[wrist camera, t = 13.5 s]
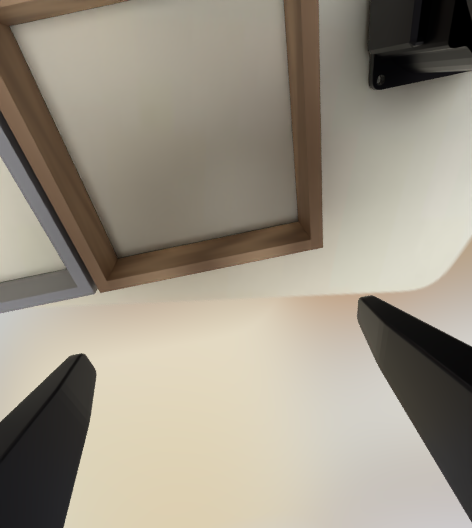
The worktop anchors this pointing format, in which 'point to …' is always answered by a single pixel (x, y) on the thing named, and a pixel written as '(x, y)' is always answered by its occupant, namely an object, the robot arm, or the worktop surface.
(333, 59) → the worktop surface
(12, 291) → the charcoal bin
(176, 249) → the walnut bin
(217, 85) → the worktop surface
